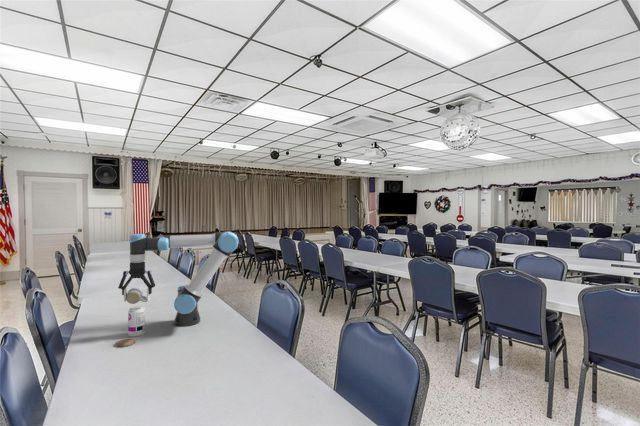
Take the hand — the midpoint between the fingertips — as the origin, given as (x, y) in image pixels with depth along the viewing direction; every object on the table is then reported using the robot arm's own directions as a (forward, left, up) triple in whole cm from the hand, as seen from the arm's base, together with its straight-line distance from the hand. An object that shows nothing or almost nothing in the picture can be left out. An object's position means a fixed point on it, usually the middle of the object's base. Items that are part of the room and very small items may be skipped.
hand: (136, 300), depth 178 cm
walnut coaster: (+1, +13, -19) cm, 23 cm away
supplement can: (0, 0, -19) cm, 19 cm away
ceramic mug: (0, 0, -1) cm, 1 cm away
